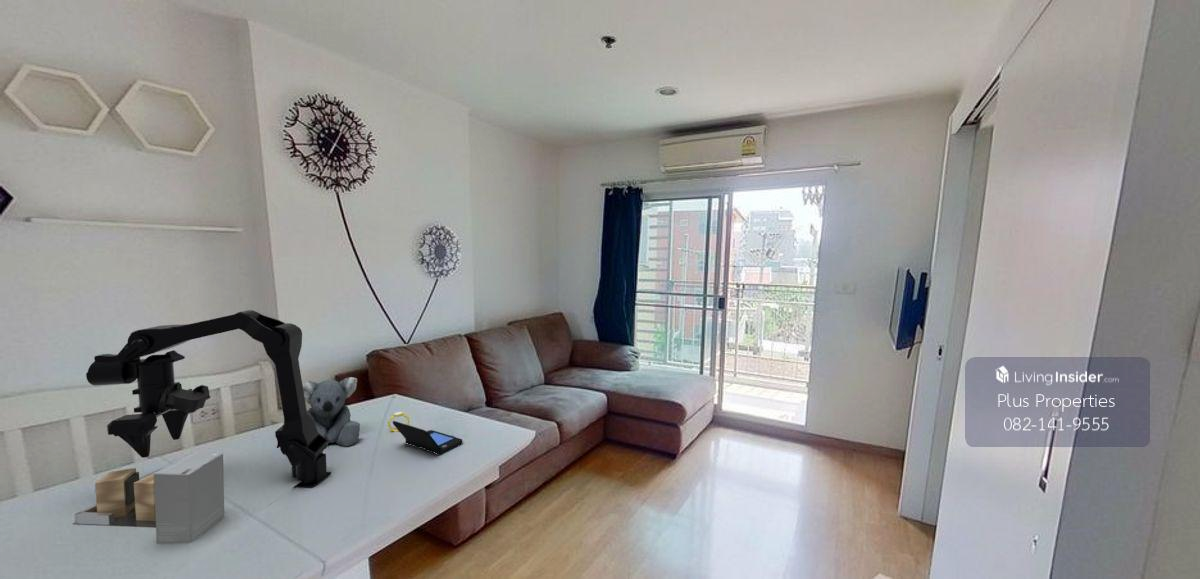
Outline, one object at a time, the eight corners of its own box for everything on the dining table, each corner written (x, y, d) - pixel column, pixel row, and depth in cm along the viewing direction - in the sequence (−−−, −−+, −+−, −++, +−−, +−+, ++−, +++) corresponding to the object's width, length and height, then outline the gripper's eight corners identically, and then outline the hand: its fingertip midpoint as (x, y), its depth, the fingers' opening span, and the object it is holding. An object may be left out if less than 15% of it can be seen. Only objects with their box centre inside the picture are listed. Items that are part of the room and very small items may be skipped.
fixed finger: (180, 506, 89) (178, 471, 88) (154, 521, 84) (152, 483, 83) (160, 505, 89) (158, 470, 89) (133, 520, 84) (130, 482, 84)
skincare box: (193, 524, 86) (189, 451, 84) (229, 523, 86) (226, 450, 85) (152, 553, 77) (147, 472, 76) (193, 551, 78) (189, 471, 77)
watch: (389, 434, 131) (387, 416, 131) (389, 431, 134) (387, 413, 133) (409, 430, 134) (407, 412, 133) (409, 427, 136) (408, 409, 135)
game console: (464, 444, 125) (464, 415, 124) (426, 463, 113) (425, 431, 112) (430, 433, 133) (430, 405, 132) (391, 449, 121) (390, 420, 120)
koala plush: (288, 458, 114) (285, 389, 113) (298, 434, 130) (296, 373, 128) (360, 445, 123) (358, 381, 121) (361, 424, 138) (359, 367, 137)
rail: (203, 508, 91) (202, 493, 91) (159, 534, 82) (158, 518, 82) (124, 505, 92) (123, 490, 91) (72, 531, 83) (71, 514, 83)
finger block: (142, 502, 90) (139, 467, 90) (129, 514, 86) (127, 478, 85) (112, 507, 88) (109, 472, 88) (97, 520, 84) (95, 483, 83)
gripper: (169, 391, 86) (174, 462, 88) (224, 368, 104) (228, 428, 105) (101, 396, 84) (108, 469, 85) (170, 371, 101) (175, 432, 103)
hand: (161, 447), depth 94 cm, fingers open, 9 cm apart
